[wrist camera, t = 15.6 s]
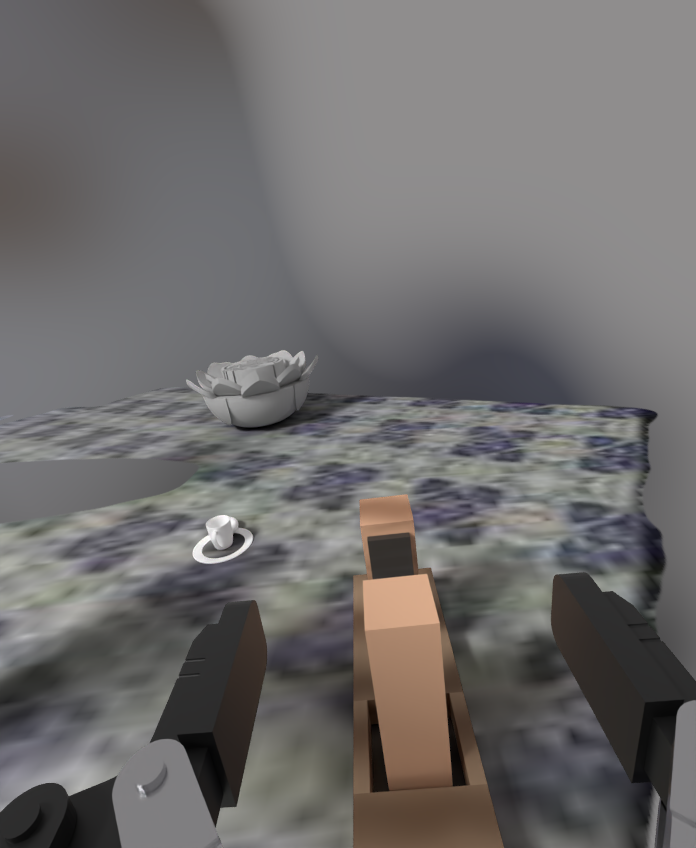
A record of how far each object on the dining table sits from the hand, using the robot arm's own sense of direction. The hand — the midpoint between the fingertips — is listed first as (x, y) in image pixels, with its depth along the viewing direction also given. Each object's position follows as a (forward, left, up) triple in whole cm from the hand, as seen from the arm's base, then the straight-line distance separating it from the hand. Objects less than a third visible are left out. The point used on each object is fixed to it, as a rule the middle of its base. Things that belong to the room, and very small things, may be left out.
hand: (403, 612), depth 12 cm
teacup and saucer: (-40, +23, -24) cm, 52 cm away
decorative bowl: (-77, +61, -23) cm, 101 cm away
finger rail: (-9, +13, -23) cm, 28 cm away
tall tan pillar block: (-6, +9, -23) cm, 26 cm away
